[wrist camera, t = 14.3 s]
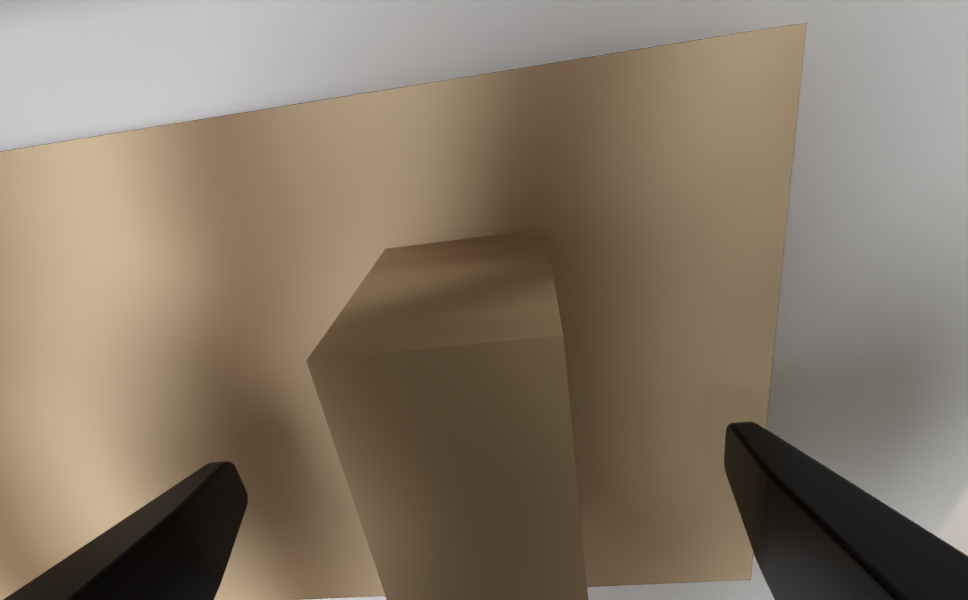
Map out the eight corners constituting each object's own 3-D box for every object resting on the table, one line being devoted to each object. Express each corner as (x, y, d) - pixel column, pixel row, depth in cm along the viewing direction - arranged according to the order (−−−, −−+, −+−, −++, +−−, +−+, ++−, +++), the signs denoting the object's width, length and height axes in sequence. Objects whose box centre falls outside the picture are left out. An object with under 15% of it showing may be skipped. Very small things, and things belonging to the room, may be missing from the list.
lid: (755, 29, 9) (1066, -14, 4) (723, 521, 14) (843, 784, 9) (-219, 186, 12) (-815, 285, 6) (47, 559, 17) (-165, 784, 12)
